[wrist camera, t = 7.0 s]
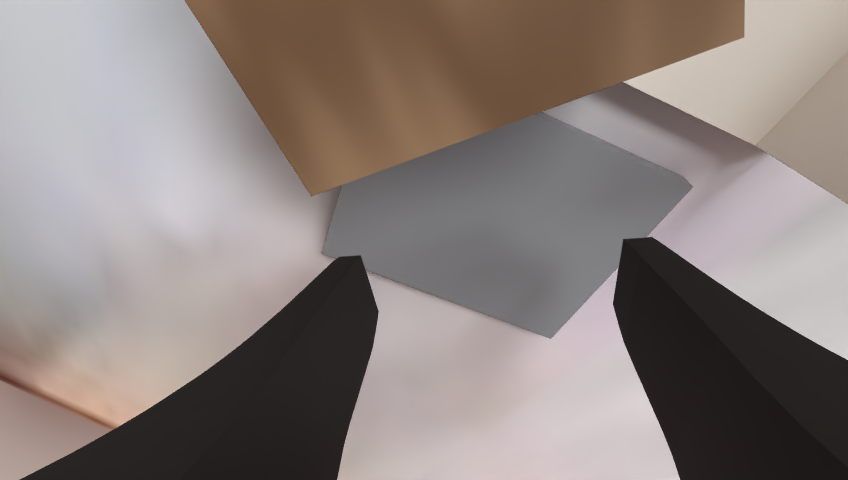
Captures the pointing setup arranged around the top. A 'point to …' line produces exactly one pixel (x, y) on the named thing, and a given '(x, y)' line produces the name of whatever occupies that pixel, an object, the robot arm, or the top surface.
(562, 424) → the top surface
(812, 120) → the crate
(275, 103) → the walnut block
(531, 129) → the mat
